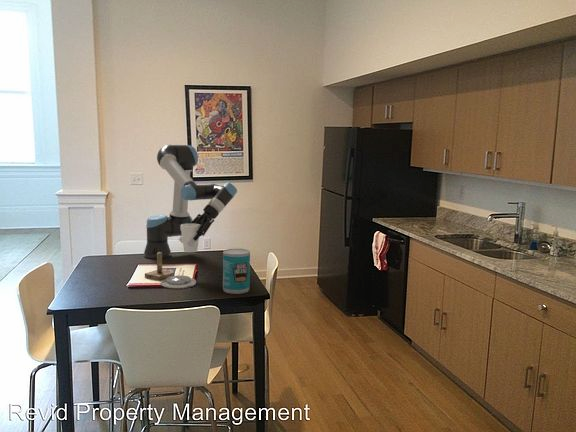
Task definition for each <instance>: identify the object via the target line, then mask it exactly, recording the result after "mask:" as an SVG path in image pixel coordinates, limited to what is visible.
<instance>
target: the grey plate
mask: <svg viewBox="0 0 576 432" xmlns="http://www.w3.org/2000/svg"><path fill="white" fill-rule="evenodd" d="M196 284H197V279H195V278H193V277H190V276H188V275H175V276H171V277H168V278H167V279H164V280H161V281H160V285H161V287H163V288H166V289H171V290H174V289H175V290H181V289H182V290H183V289H188V288H192V287H194V286H196Z"/></svg>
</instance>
